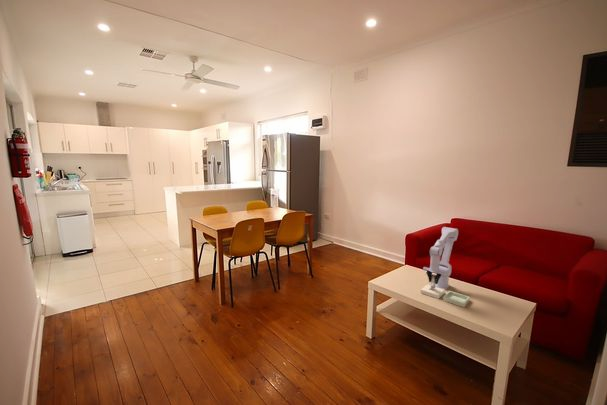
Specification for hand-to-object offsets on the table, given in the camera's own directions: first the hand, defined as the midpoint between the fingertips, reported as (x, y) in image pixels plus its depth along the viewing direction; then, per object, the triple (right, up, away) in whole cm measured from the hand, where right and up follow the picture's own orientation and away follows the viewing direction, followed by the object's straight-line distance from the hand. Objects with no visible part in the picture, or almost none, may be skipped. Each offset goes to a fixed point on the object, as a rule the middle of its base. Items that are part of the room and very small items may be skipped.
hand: (433, 282), depth 190 cm
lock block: (0, -7, +1) cm, 8 cm away
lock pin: (0, -3, 0) cm, 3 cm away
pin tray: (+11, -9, -9) cm, 17 cm away
